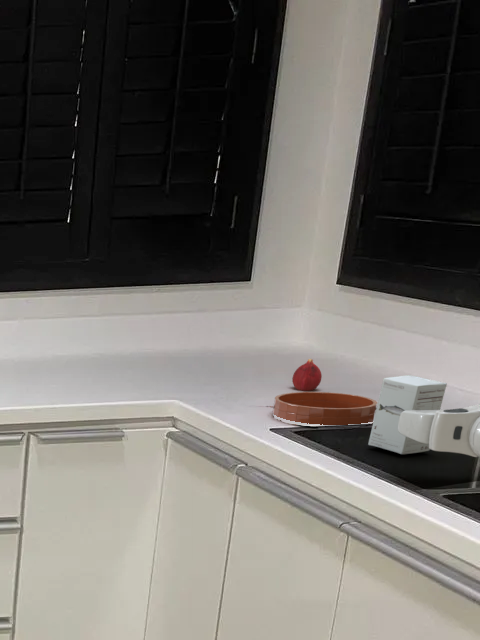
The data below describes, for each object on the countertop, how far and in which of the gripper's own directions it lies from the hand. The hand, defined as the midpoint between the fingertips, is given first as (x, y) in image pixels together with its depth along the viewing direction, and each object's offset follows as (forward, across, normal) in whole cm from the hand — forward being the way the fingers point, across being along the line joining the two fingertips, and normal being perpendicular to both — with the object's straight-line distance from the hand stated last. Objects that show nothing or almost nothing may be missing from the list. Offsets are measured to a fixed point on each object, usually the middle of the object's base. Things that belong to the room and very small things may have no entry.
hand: (441, 413), depth 201 cm
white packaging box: (+11, 0, +9) cm, 14 cm away
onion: (+65, -8, +9) cm, 66 cm away
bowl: (+38, +1, +9) cm, 39 cm away
